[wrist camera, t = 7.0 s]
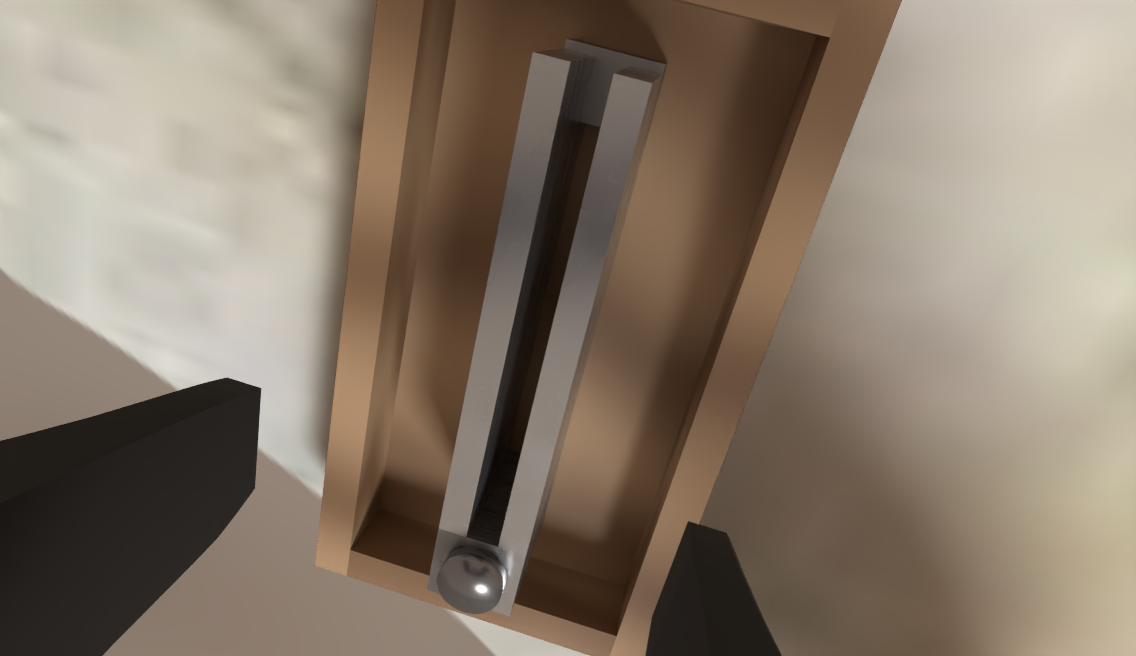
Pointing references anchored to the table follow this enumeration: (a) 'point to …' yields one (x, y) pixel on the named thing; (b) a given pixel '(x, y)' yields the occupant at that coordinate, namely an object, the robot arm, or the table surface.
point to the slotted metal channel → (539, 313)
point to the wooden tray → (633, 295)
